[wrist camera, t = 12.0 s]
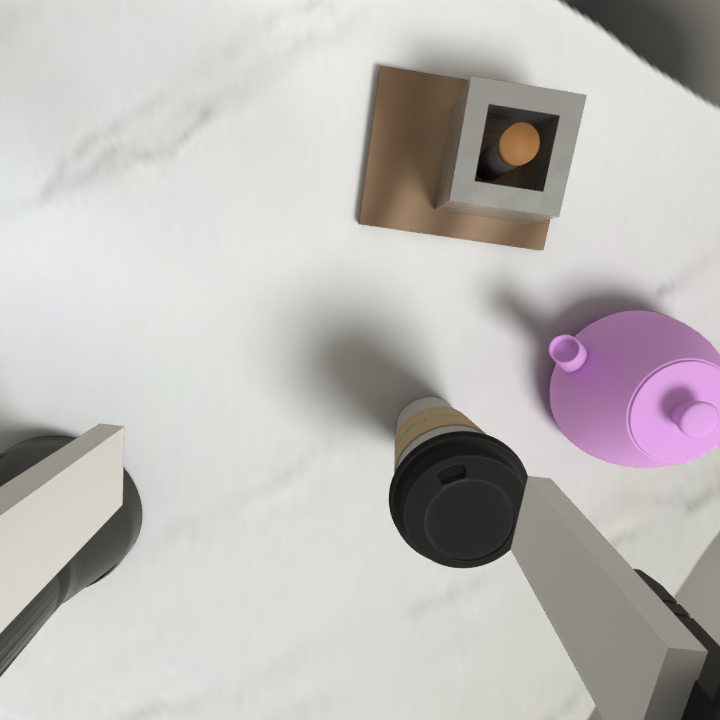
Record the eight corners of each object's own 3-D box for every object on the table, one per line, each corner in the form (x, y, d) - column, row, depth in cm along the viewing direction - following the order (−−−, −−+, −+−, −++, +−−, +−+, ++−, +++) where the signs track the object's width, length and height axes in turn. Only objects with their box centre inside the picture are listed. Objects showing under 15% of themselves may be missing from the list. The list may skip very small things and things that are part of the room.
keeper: (359, 224, 38) (360, 214, 31) (379, 70, 36) (386, 18, 28) (539, 250, 39) (584, 247, 31) (572, 101, 36) (630, 58, 29)
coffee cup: (424, 358, 41) (464, 412, 26) (497, 421, 42) (573, 506, 28) (357, 431, 42) (360, 522, 28) (430, 490, 44) (468, 604, 29)
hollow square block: (434, 210, 37) (449, 200, 31) (451, 106, 36) (471, 75, 30) (526, 224, 38) (558, 217, 32) (548, 122, 36) (586, 94, 30)
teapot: (556, 261, 39) (629, 261, 29) (736, 359, 41) (865, 392, 31) (478, 395, 42) (520, 439, 31) (652, 481, 44) (745, 549, 34)
